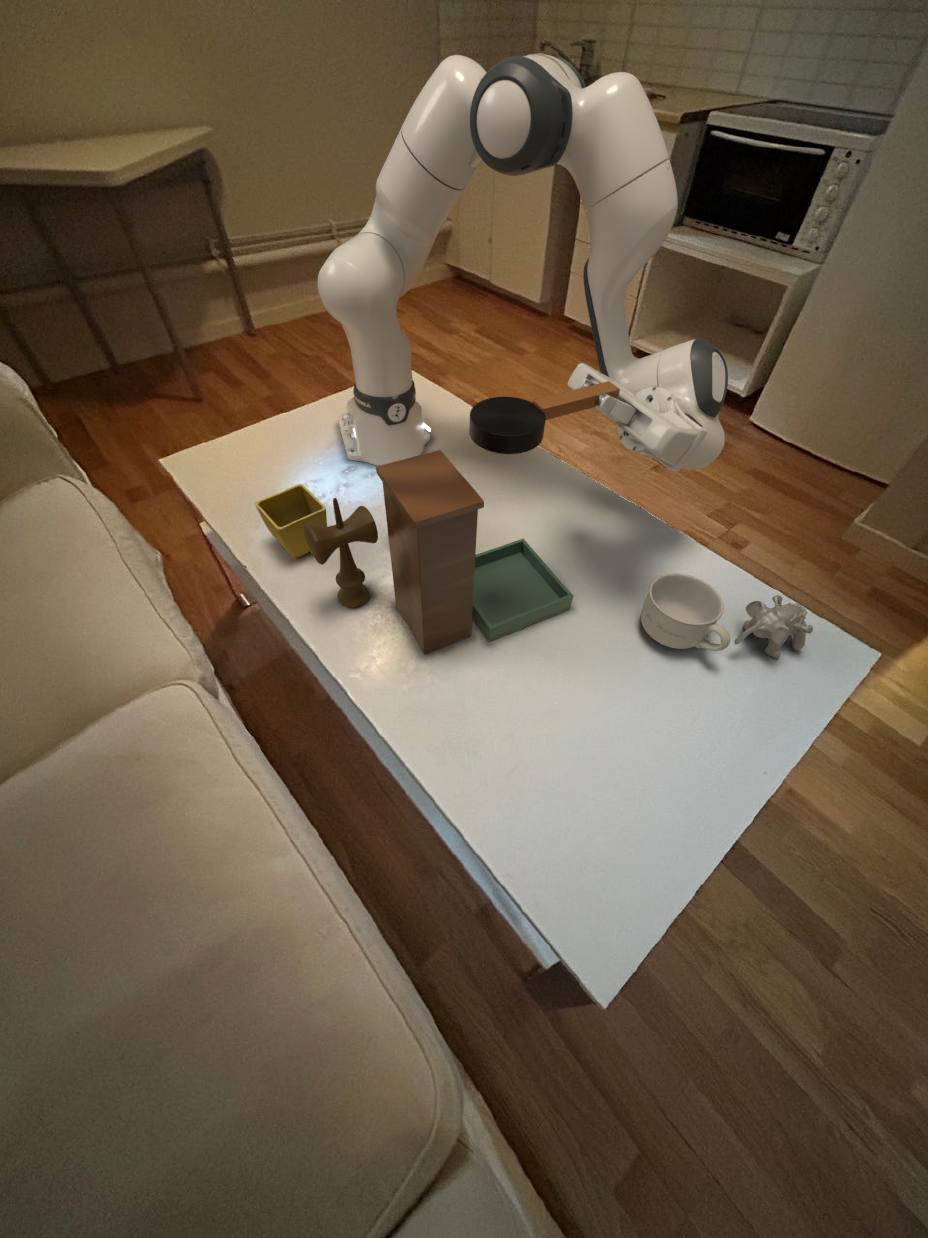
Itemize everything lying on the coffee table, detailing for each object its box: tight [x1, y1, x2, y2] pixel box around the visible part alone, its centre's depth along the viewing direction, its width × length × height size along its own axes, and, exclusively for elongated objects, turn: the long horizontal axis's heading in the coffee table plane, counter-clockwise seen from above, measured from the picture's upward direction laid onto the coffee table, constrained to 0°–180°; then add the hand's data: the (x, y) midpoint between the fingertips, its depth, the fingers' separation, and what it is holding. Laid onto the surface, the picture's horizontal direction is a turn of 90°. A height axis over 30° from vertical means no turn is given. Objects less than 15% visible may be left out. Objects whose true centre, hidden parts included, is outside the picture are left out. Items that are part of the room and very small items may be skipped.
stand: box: [375, 449, 485, 655], centre depth 76 cm, size 12×9×26 cm
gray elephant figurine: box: [733, 594, 814, 659], centre depth 81 cm, size 9×12×8 cm
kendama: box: [303, 497, 379, 608], centre depth 81 cm, size 6×10×20 cm, turn 122°
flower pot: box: [254, 483, 328, 559], centre depth 92 cm, size 9×9×9 cm
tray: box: [472, 538, 574, 642], centre depth 89 cm, size 15×15×3 cm
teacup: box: [640, 572, 731, 652], centre depth 81 cm, size 14×11×8 cm
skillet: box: [468, 381, 620, 455], centre depth 67 cm, size 9×20×3 cm, turn 117°
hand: (592, 393), depth 68 cm, fingers closed on skillet, 2 cm apart
